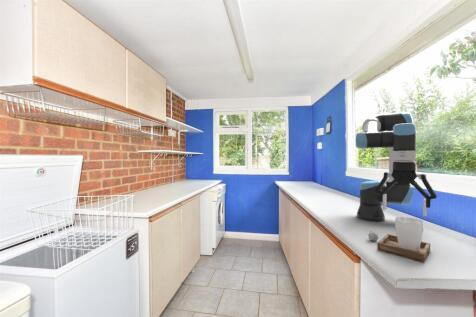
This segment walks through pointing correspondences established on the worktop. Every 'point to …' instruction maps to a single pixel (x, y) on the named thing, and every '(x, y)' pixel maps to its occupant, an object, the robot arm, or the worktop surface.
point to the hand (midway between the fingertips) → (403, 212)
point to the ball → (373, 236)
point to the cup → (409, 233)
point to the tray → (391, 246)
